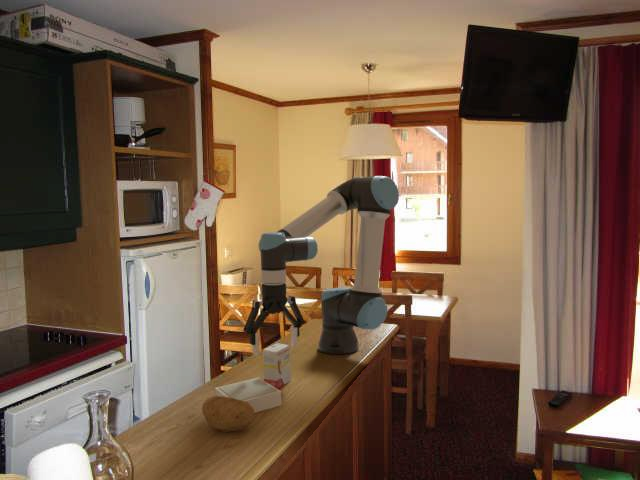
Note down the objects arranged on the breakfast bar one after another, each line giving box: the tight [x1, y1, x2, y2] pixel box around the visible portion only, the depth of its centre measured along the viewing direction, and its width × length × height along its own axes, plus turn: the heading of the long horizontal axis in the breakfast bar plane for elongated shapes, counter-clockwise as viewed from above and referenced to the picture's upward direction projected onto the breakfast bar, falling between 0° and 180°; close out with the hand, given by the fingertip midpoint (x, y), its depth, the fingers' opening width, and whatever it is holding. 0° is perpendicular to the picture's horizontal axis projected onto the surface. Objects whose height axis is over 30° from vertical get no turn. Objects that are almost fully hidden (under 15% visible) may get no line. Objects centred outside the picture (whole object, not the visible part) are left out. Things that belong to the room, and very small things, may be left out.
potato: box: [201, 396, 255, 433], centre depth 134 cm, size 10×14×8 cm
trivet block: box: [214, 377, 283, 414], centre depth 150 cm, size 14×14×4 cm
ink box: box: [262, 342, 292, 390], centre depth 164 cm, size 9×5×12 cm, turn 151°
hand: (275, 351), depth 163 cm, fingers open, 13 cm apart
